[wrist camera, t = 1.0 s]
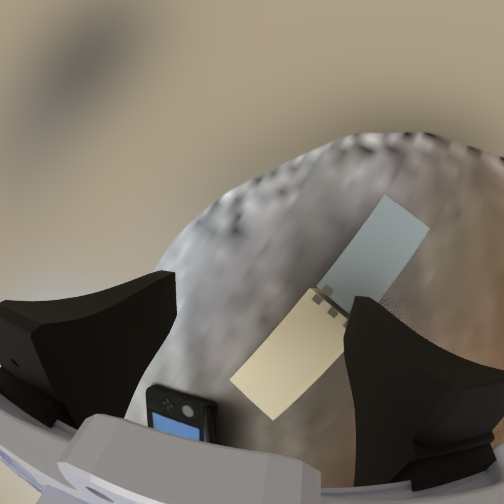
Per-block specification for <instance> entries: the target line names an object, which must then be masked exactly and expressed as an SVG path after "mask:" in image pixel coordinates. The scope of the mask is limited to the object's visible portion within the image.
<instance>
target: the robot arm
mask: <svg viewBox="0 0 504 504" xmlns="http://www.w3.org/2000/svg"><path fill="white" fill-rule="evenodd" d="M176 316H177V305H176V282H175V272H169V271H163V270H161V271H157V272H153V273H150V274H147V275H145V276H142V277H140V278H137V279H134V280H132V281H129V282H126V283H124V284H121V285H118V286H115V287H112V288H109V289H106V290H103V291H100V292H96V293H93V294H88V295H84V296H79V297H73V298H66V299H60V300H50V301H12V300H5V301H2V302H0V365H1V367H0V460H1V461H2V462H3V463H4V464H5V465H7V466H8V467H9V468H10V469H11V470H12V471H13V472H15V473H16V474H17V475H18V476H19V477H21V478H22V479H23V480H24V481H26V482H27V483H28V484H29V485H31V486H32V487H33V488H35V489H36V490H37V491H39V492H40V493H41V494H42V495H41V497H40V498H39V500H38V502H37V503H36V504H504V443H503V444H501V445H499V446H497V447H496V448H494V449H492V447H491V444H490V443H491V442H493V440H494V438H495V437H494V435H493V432H492V430H493V429H494V428H495V426H496V425H497V424H498V423H499V422H500V420H501V419H502V418H503V417H504V370H500V369H496V368H492V367H488V366H484V365H480V364H478V363H475V362H472V361H469V360H466V359H464V358H461V357H459V356H457V355H455V354H453V353H450V352H448V351H446V350H444V349H442V348H440V347H439V346H437V345H435V344H433V343H432V342H430V341H428V340H427V339H425V338H423V337H422V336H420V335H419V334H418V333H416V332H415V331H413V330H412V329H411V328H409V327H408V326H406V325H405V324H404V323H403V322H401V321H400V320H399V319H398V318H396V317H395V316H394V315H393V314H391V313H390V312H389V311H388V310H386V309H385V308H384V307H383V306H381V305H380V304H379V303H378V302H376V301H375V300H374V299H372V298H370V297H365V296H355V298H354V302H353V305H352V309H351V313H350V316H349V320H348V323H347V327H346V330H345V333H344V337H343V343H344V356H345V362H346V367H347V372H348V376H349V381H350V386H351V390H352V395H353V400H354V407H355V419H356V464H355V478H354V487H348V488H321V472H320V471H318V470H316V469H315V468H313V467H311V466H310V465H308V464H306V463H304V462H303V461H301V460H299V459H297V458H292V457H287V456H282V455H277V454H273V453H268V452H260V451H253V450H245V449H239V448H233V447H227V446H222V445H217V444H212V443H207V442H202V441H198V440H194V439H189V438H185V437H181V436H178V435H174V434H170V433H167V432H163V431H160V430H157V429H153V428H150V427H147V426H144V425H141V424H138V423H135V422H132V421H129V420H127V419H124V417H125V414H126V412H127V409H128V407H129V404H130V402H131V399H132V397H133V395H134V392H135V390H136V388H137V386H138V384H139V381H140V379H141V377H142V376H143V374H144V372H145V370H146V369H147V367H148V366H149V364H150V362H151V361H152V359H153V358H154V356H155V355H156V353H157V352H158V350H159V348H160V347H161V345H162V344H163V342H164V341H165V339H166V337H167V336H168V334H169V332H170V330H171V328H172V326H173V323H174V321H175V319H176Z"/></svg>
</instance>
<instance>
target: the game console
mask: <svg viewBox="0 0 504 504" xmlns="http://www.w3.org/2000/svg"><path fill="white" fill-rule="evenodd" d="M146 406H147V421H148V427H150V428H153V429H157V430H160V431H163V432H167V433H170V434H174V435H178V436H181V437H185V438H189V439H194V440H198V441H202V442H207V443H212V444H217V443H216V417H217V404H216V403H215V402H213V401H210V402H209V401H206V400H204V399H200V398H196V397H193V396H189V395H186V394H183V393H179V392H176V391H173V390H170V389H167V388H164V387H161V386H157V385H153V386H151V387H148V388H147V390H146Z"/></svg>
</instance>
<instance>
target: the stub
mask: <svg viewBox="0 0 504 504" xmlns="http://www.w3.org/2000/svg"><path fill="white" fill-rule="evenodd" d="M429 229H430V228H428V227H427V226H426V225H425V224H423V223H422V222H421V221H419V220H418V219H417V218H416V217H414V216H413V215H412V214H410V213H409V212H408V211H407V210H405V209H404V208H403V207H401V206H400V205H399V204H397V203H396V202H394V201H393V200H392V199H390V198H389V197H388V196H386V195H384V196H383V198H382V199H381V200H380V202H379V203H378V205H377V206H376V208H375V209H374V210H373V212H372V213H371V215H370V216H369V217H368V219H367V220H366V222H365V223H364V224H363V226H362V227H361V228H360V230H359V231H358V233H357V234H356V235H355V237H354V238H353V239H352V241H351V242H350V243H349V245H348V246H347V247H346V249H345V250H344V251H343V253H342V254H341V255H340V257H339V258H338V259H337V260H336V262H335V263H334V264H333V266H332V267H331V268H330V269H329V271H328V272H327V273H326V275H325V276H324V277H323V278H322V280H321V281H320V282H319V283H318V285H317V286H316V287H318V288H319V289H320V290H321V291H322V292H324V293H325V294H326V295H327V296H328V297H330V298H331V299H332V300H333V301H334V302H336V303H337V304H338V305H339V306H340V307H341V308H343V309H344V310H345V311H346V312H347V313H349V314H350V313H351V309H352V305H353V302H354V298H355V296H365V297H370V298H372V299H374V300H375V301H376V302H379V300H380V299H381V298H382V296H383V295H384V294H385V293H386V291H387V290H388V289H389V287H390V286H391V285H392V283H393V282H394V281H395V279H396V278H397V276H398V275H399V274H400V272H401V271H402V269H403V268H404V267H405V265H406V264H407V262H408V261H409V260H410V258H411V257H412V255H413V254H414V252H415V251H416V249H417V248H418V246H419V245H420V243H421V242H422V240H423V239H424V237H425V235H426V234H427V232H428V231H429Z"/></svg>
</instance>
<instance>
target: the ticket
mask: <svg viewBox="0 0 504 504" xmlns="http://www.w3.org/2000/svg"><path fill="white" fill-rule="evenodd" d="M349 316H350V314H349V313H347V312H346V311H345V310H344V309H343V308H341V307H340V306H339V305H338V304H337V303H336V302H334V301H333V300H332V299H331V298H330V297H328V296H327V295H326V294H325V293H324V292H322V291H321V290H320V289H319V288H309V289H308V290H307V292H306V293H305V294H304V295H303V297H302V298H301V299H300V300H299V301H298V303H297V304H296V305H295V306H294V307H293V309H292V310H291V311H290V312H289V313H288V315H287V316H286V317H285V318H284V319H283V321H282V322H281V323H280V324H279V325H278V326H277V328H276V329H275V330H274V331H273V332H272V333H271V334H270V336H269V337H268V338H267V339H266V340H265V341H264V342H263V344H262V345H261V346H260V347H259V348H258V349H257V350H256V351H255V353H254V354H253V355H252V356H251V357H250V358H249V359H248V360H247V361H246V363H245V364H244V365H243V366H242V367H241V368H240V369H239V370H238V371H237V372H236V373H235V374H234V376H233V377H232V378H231V379H230V381H231V382H232V383H233V384H234V385H235V386H236V387H237V388H238V389H240V390H241V391H242V392H243V393H244V394H245V395H246V396H247V397H248V398H249V399H250V400H251V401H252V402H253V403H254V404H255V405H256V406H258V407H259V408H260V409H261V410H262V411H263V412H264V413H265V414H266V415H267V416H269V417H270V418H271V419H272V420H274V419H276V418H277V417H278V416H279V415H280V414H281V413H282V412H283V411H285V410H286V409H287V408H288V407H289V406H290V405H291V404H292V403H293V402H294V401H295V400H296V399H298V398H299V397H300V396H301V395H302V394H303V393H304V392H305V391H306V390H307V389H308V388H309V387H310V386H311V385H312V384H313V383H314V382H315V381H316V380H317V379H318V378H319V377H320V376H321V375H322V374H323V373H324V372H325V371H326V370H327V369H328V368H329V367H330V366H331V365H332V364H333V362H334V361H335V360H336V359H337V358H338V357H339V356H340V355H341V354H342V353H343V352H344V343H343V337H344V333H345V330H346V327H347V323H348V320H349Z"/></svg>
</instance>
